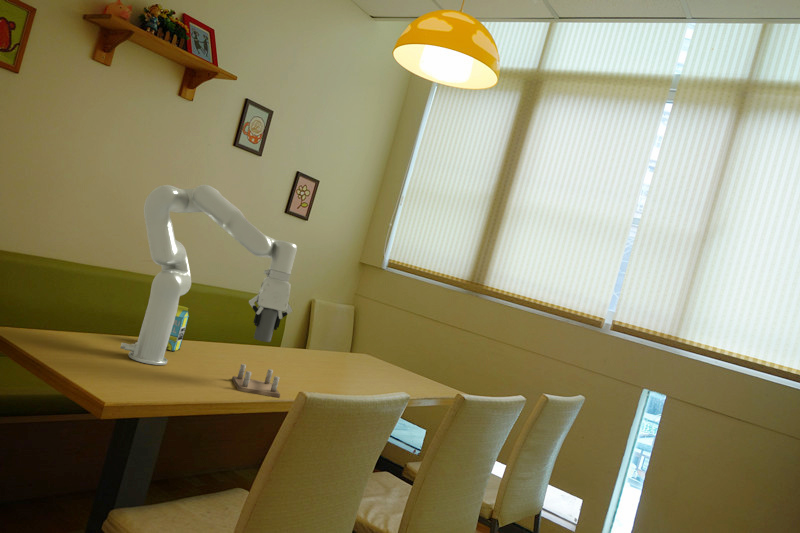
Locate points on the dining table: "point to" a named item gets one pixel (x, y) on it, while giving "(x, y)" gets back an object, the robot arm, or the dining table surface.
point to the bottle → (266, 325)
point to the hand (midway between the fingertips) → (265, 327)
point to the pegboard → (256, 383)
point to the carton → (178, 329)
